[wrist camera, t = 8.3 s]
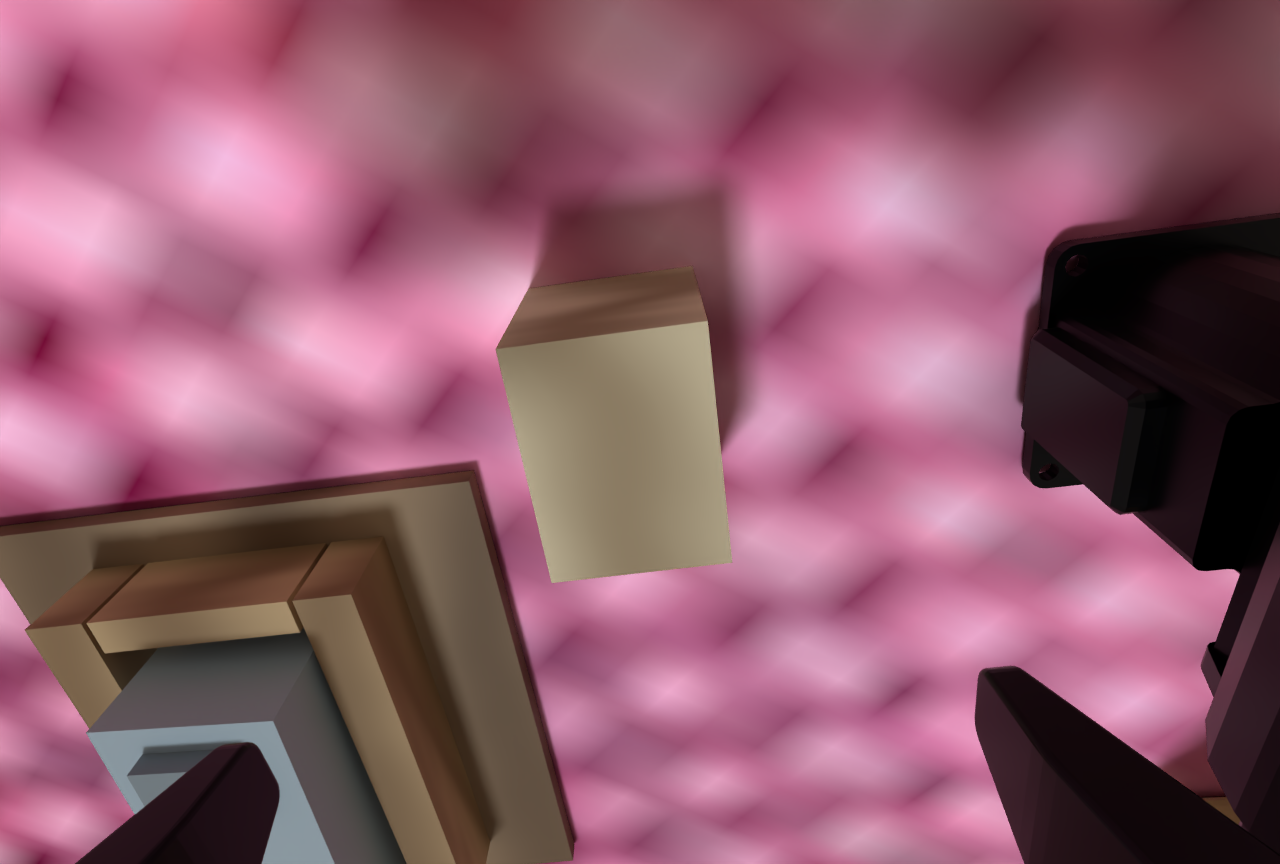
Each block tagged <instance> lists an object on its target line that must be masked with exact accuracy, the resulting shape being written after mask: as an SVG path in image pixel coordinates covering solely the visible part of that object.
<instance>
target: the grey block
mask: <svg viewBox="0 0 1280 864" xmlns="http://www.w3.org/2000/svg"><path fill="white" fill-rule="evenodd" d="M86 734H87V735H88V737H89V739H90V740H91V742H92V744H93V745H94V747H95V749H96V750H97V752H98V754H99V755H100V757H101V759H102V760H103V762H104V764H105V765H106V767H107V769H108V770H109V772H110V774H111V775H112V777H113V779H114V781H115V782H116V784H117V786H118V787H119V789H120V791H121V792H122V794H123V796H124V797H125V799H126V801H127V802H128V804H129V806H130V807H131V809H132V811H133V812H134V814H136V813H137V812H139V811H140V810H141V809H142V808H143V807H145V806H146V805H147V804H148V803H150V802H151V801H152V800H153V799H154V798H156V797H157V796H158V795H159V794H161V793H162V792H163V791H164V790H165V789H167V788H168V787H169V786H170V785H171V784H173V783H174V782H175V781H176V780H178V779H179V778H180V777H181V776H182V775H184V774H185V773H186V772H187V771H189V770H190V769H191V768H192V767H193V766H195V765H196V764H197V763H198V762H200V761H201V760H202V759H203V758H204V757H206V756H207V755H208V754H209V753H210V752H212V751H213V750H214V749H216V748H217V747H219V746H222V745H225V744H233V743H243V742H252V743H254V744H256V745H257V746H258V747H259V748H260V750H261V752H262V754H263V756H264V758H265V759H266V761H267V763H268V765H269V767H270V769H271V771H272V772H273V774H274V776H275V778H276V780H277V782H278V784H279V789H280V799H279V805H278V809H277V812H276V816H275V819H274V823H273V826H272V830H271V833H270V837H269V840H268V844H267V847H266V851H265V854H264V858H263V861H262V864H407V863H406V861H405V859H404V856H403V854H402V852H401V849H400V847H399V845H398V842H397V840H396V838H395V836H394V833H393V831H392V829H391V826H390V824H389V822H388V820H387V817H386V815H385V813H384V810H383V808H382V806H381V804H380V801H379V799H378V797H377V794H376V792H375V790H374V787H373V785H372V783H371V781H370V778H369V776H368V774H367V771H366V769H365V767H364V765H363V762H362V760H361V758H360V755H359V753H358V751H357V748H356V746H355V744H354V742H353V739H352V737H351V735H350V732H349V730H348V728H347V726H346V723H345V721H344V719H343V716H342V714H341V712H340V710H339V707H338V705H337V703H336V700H335V698H334V696H333V693H332V691H331V689H330V687H329V684H328V682H327V680H326V677H325V675H324V673H323V671H322V668H321V666H320V664H319V661H318V659H317V657H316V655H315V652H314V650H313V648H312V645H311V643H310V641H309V638H308V636H307V634H306V632H305V629H304V627H303V629H302V630H301V632H300V633H292V634H283V635H273V636H264V637H255V638H245V639H236V640H226V641H217V642H208V643H198V644H189V645H179V646H170V647H161V648H158V649H157V650H156V651H155V652H154V654H153V655H152V656H151V657H150V658H149V660H148V661H147V662H146V663H145V664H144V665H143V667H142V668H141V669H140V670H139V671H138V672H137V674H136V675H135V676H134V677H133V678H132V680H131V681H130V682H129V683H128V684H127V685H126V687H125V688H124V689H123V690H122V691H121V692H120V694H119V695H118V696H117V697H116V698H115V700H114V701H113V702H112V703H111V704H110V705H109V707H108V708H107V709H106V710H105V711H104V712H103V714H102V715H101V716H100V717H99V718H98V720H97V721H96V722H95V723H94V724H93V725H92V727H91V728H90V729H89V730H88V731H87V732H86Z"/></svg>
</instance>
